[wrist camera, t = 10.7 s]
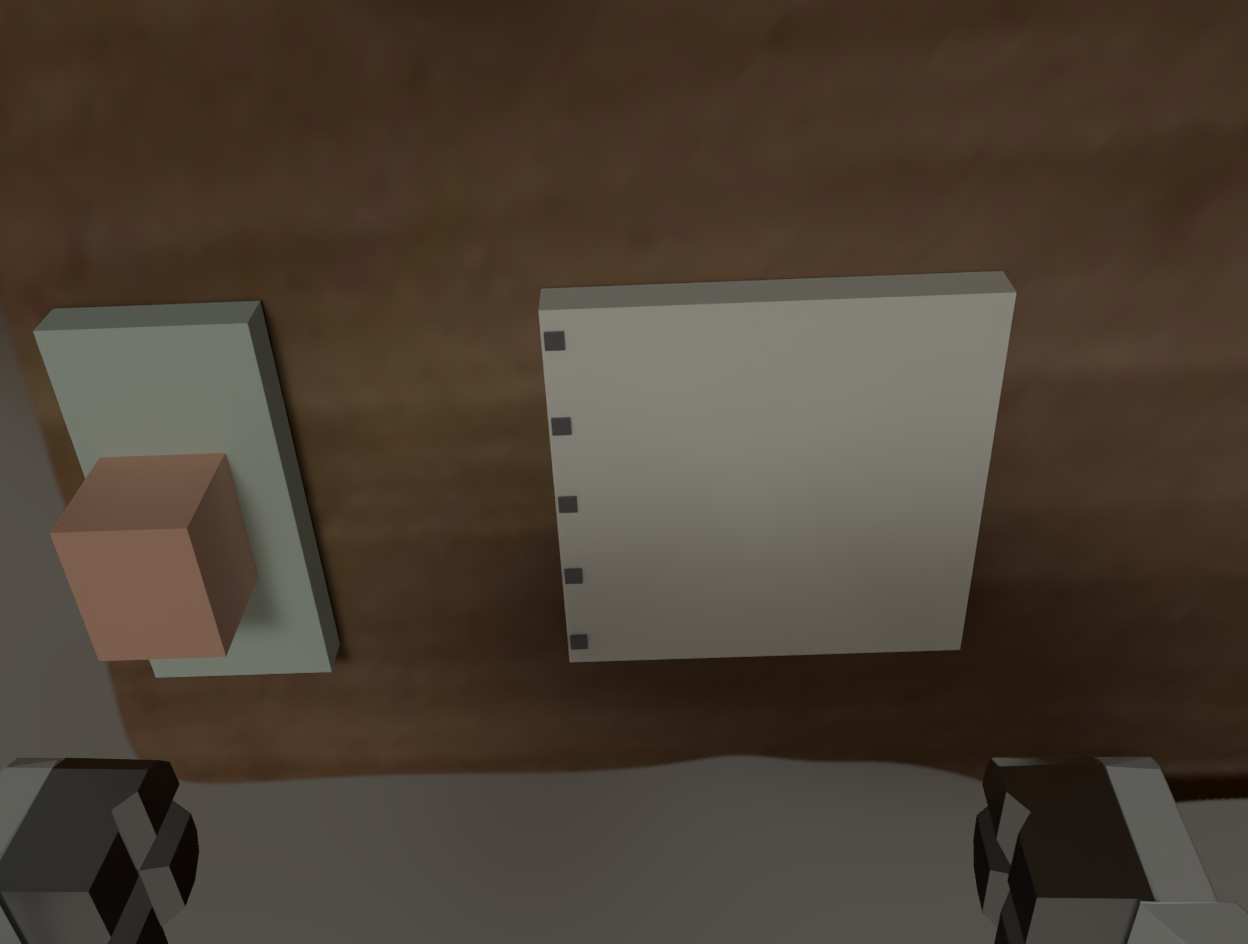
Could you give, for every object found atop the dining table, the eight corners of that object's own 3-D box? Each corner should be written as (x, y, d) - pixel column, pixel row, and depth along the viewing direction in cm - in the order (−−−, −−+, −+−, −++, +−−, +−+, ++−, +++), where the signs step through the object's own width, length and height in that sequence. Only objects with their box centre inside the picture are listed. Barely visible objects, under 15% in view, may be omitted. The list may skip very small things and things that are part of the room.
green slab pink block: (260, 300, 36) (208, 390, 32) (339, 643, 44) (307, 755, 40) (52, 308, 36) (-29, 399, 32) (168, 649, 44) (116, 761, 40)
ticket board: (1002, 270, 36) (1017, 293, 35) (950, 622, 44) (961, 651, 42) (541, 288, 36) (538, 312, 35) (571, 634, 44) (569, 664, 43)
